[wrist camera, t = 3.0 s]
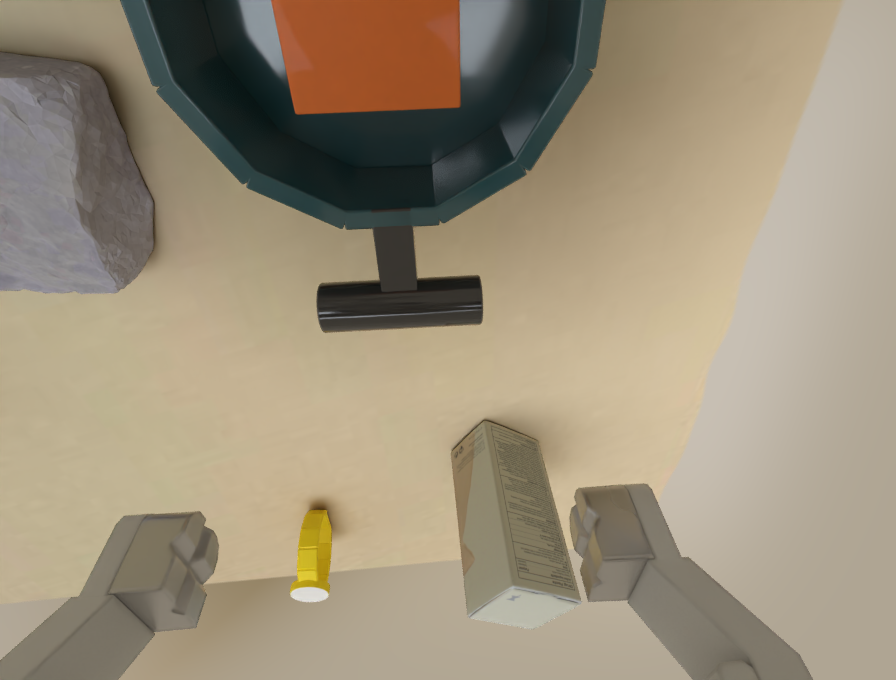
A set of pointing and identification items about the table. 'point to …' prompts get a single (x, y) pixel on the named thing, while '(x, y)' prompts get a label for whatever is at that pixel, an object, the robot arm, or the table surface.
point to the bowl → (375, 134)
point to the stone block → (67, 182)
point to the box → (510, 531)
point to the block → (370, 54)
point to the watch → (313, 558)
